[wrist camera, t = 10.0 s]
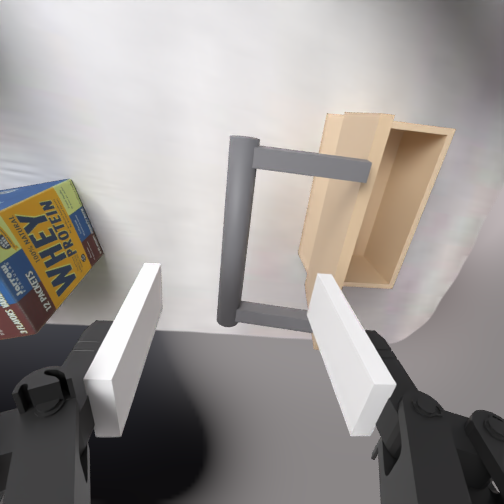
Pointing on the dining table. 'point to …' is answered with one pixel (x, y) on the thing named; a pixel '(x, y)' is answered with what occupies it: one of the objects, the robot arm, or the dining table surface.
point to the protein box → (41, 253)
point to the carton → (383, 200)
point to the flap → (331, 221)
